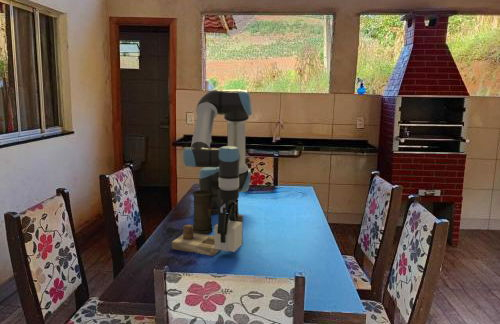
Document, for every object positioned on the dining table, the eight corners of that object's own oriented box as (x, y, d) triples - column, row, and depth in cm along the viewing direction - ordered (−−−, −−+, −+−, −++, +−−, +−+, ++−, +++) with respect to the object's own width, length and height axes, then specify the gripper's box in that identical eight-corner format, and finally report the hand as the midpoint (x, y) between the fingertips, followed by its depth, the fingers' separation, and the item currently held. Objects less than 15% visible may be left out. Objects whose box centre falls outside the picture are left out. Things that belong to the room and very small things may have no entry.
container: (194, 235, 170) (193, 195, 167) (191, 228, 179) (191, 190, 176) (214, 233, 173) (214, 194, 169) (210, 226, 181) (210, 189, 178)
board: (186, 238, 166) (186, 220, 165) (225, 244, 160) (225, 226, 159) (172, 248, 155) (171, 229, 154) (213, 255, 149) (213, 236, 148)
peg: (234, 241, 164) (235, 213, 162) (243, 242, 163) (244, 214, 161) (231, 244, 160) (231, 216, 158) (240, 245, 159) (240, 217, 157)
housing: (223, 241, 154) (223, 219, 153) (241, 244, 152) (242, 222, 150) (214, 248, 147) (214, 225, 146) (234, 251, 144) (234, 228, 143)
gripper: (230, 181, 156) (229, 235, 160) (207, 193, 137) (207, 254, 141) (247, 183, 154) (247, 238, 158) (227, 195, 135) (226, 257, 139)
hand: (228, 245), depth 149 cm, fingers closed on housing, 8 cm apart
